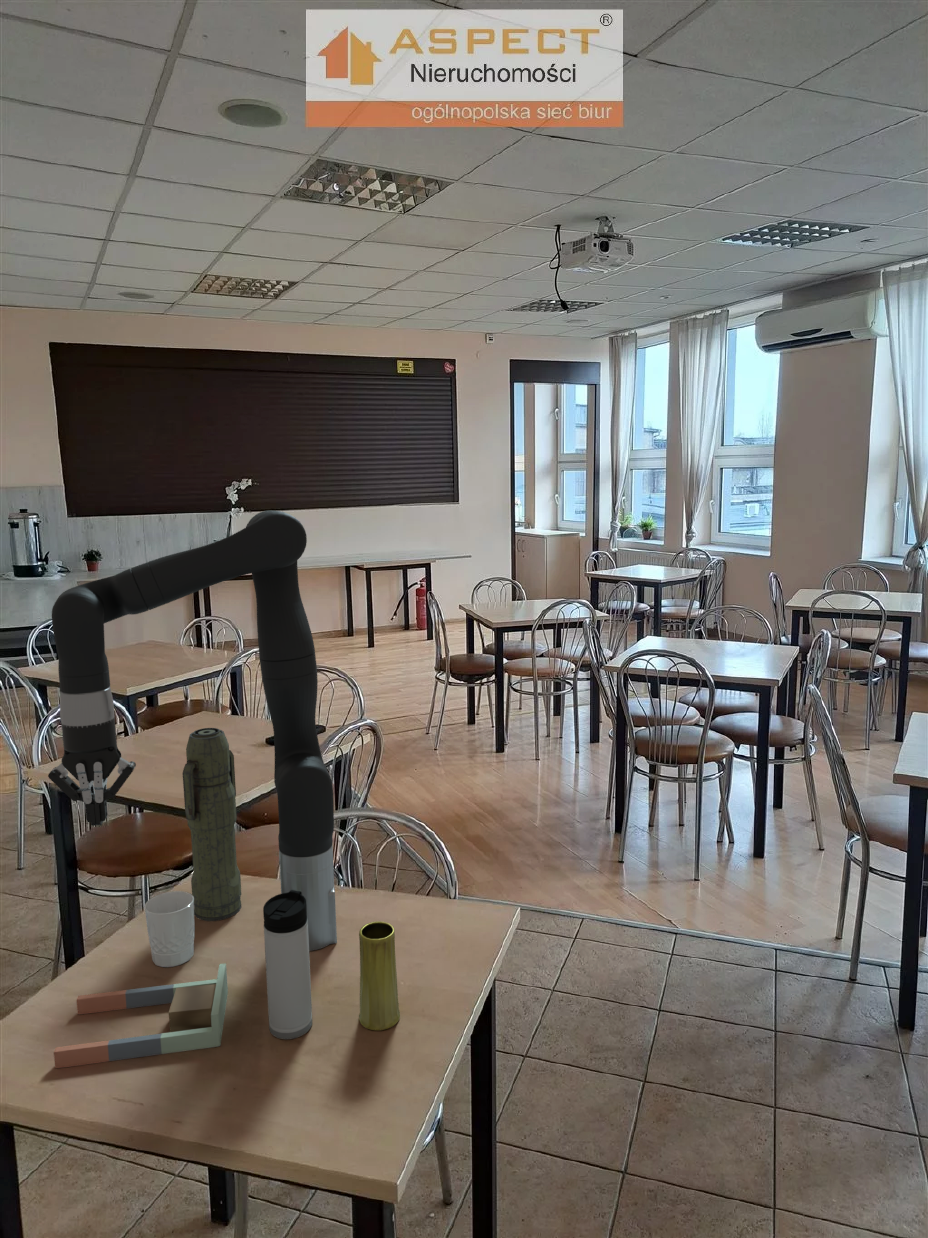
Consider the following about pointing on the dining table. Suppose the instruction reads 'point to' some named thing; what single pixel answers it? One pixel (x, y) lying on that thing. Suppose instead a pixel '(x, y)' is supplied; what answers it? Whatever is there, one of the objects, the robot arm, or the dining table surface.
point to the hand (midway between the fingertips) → (97, 823)
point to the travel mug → (287, 965)
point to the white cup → (171, 927)
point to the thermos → (212, 824)
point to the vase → (378, 977)
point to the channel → (147, 1043)
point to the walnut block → (191, 1008)
